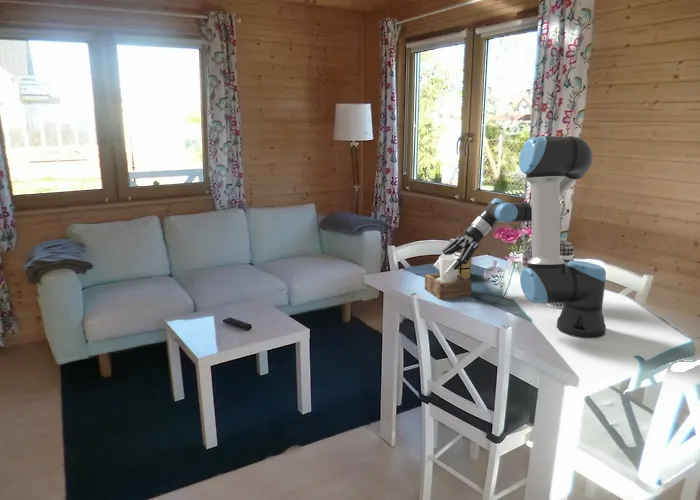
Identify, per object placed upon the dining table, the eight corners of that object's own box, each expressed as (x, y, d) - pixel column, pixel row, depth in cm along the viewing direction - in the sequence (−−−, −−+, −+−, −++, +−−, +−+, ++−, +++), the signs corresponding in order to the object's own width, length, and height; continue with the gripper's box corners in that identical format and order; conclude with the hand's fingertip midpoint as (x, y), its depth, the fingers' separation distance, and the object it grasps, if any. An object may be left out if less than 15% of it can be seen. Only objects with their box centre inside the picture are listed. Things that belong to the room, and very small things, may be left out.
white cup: (457, 283, 209) (458, 259, 207) (438, 282, 211) (438, 259, 209) (457, 278, 217) (458, 255, 215) (438, 277, 218) (439, 254, 216)
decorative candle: (575, 306, 198) (582, 242, 192) (558, 310, 194) (564, 245, 188) (556, 299, 206) (561, 238, 200) (539, 303, 202) (544, 240, 196)
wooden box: (470, 295, 211) (471, 280, 209) (439, 299, 207) (440, 283, 205) (454, 285, 224) (454, 271, 222) (424, 289, 220) (425, 274, 218)
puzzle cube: (441, 274, 242) (442, 253, 240) (462, 272, 244) (463, 252, 241) (449, 280, 232) (450, 258, 230) (470, 278, 234) (471, 257, 232)
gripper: (498, 242, 204) (460, 284, 203) (468, 231, 225) (434, 269, 224) (487, 229, 201) (449, 272, 200) (458, 220, 222) (424, 258, 221)
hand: (441, 270), depth 212 cm, fingers open, 10 cm apart
